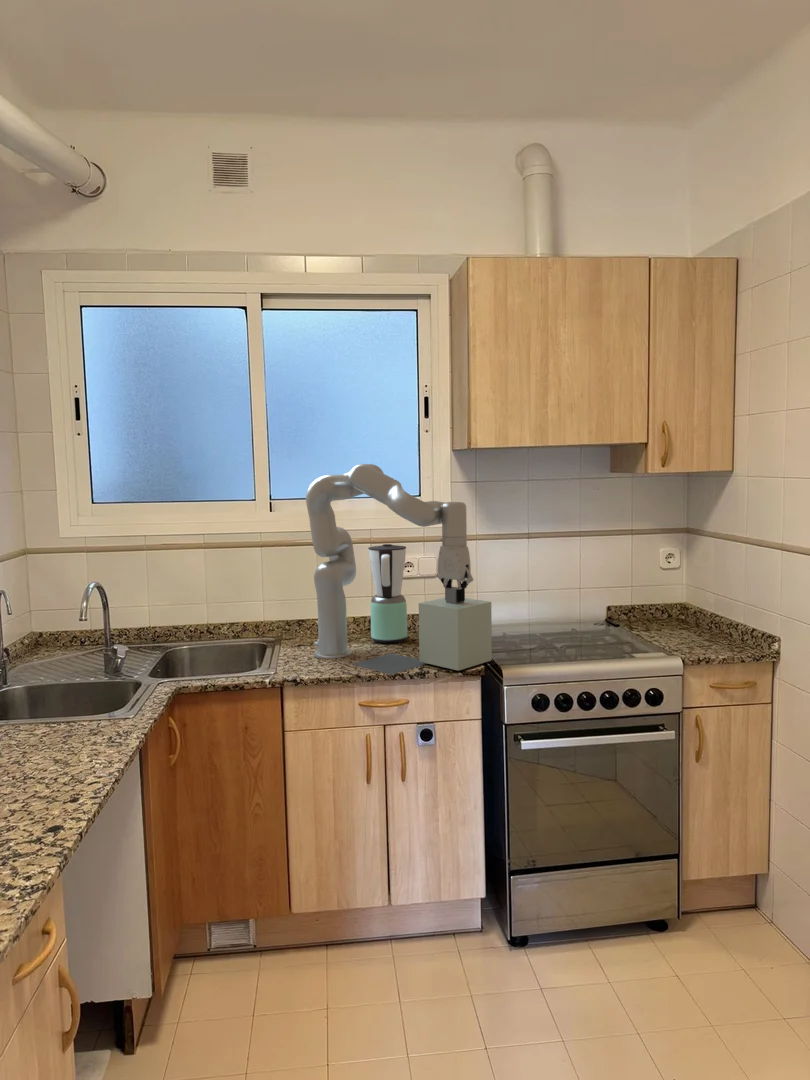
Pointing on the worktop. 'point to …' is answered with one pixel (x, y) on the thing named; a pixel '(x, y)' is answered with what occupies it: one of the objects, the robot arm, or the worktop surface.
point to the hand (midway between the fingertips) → (455, 600)
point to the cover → (455, 632)
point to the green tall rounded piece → (388, 594)
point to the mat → (391, 663)
